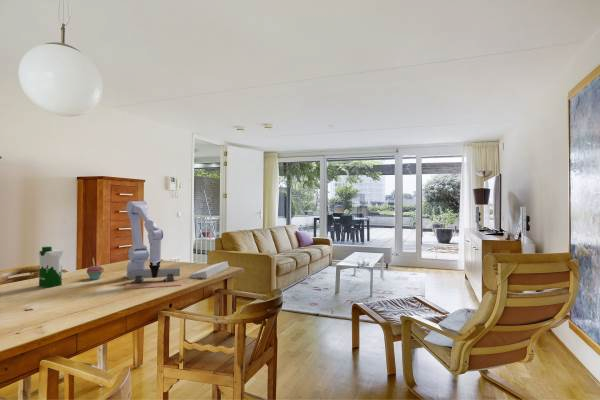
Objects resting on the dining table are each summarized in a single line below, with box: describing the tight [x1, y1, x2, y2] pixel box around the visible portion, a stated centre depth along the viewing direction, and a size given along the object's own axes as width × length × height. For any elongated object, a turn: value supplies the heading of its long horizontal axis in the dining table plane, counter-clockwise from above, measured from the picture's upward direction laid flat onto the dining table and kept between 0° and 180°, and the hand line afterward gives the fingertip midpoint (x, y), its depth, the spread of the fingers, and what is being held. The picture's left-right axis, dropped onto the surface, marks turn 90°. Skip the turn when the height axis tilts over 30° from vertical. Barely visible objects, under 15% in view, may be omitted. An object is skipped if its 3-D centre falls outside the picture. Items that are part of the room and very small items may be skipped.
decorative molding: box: [190, 260, 230, 279], centre depth 220 cm, size 34×5×10 cm
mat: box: [124, 280, 182, 290], centre depth 184 cm, size 27×9×1 cm, turn 111°
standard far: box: [165, 275, 175, 282], centre depth 197 cm, size 4×11×5 cm, turn 21°
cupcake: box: [86, 257, 105, 280], centre depth 197 cm, size 9×8×12 cm
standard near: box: [133, 277, 145, 284], centre depth 191 cm, size 4×11×5 cm, turn 21°
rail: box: [127, 267, 181, 280], centre depth 193 cm, size 26×4×4 cm, turn 111°
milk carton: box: [38, 246, 64, 289], centre depth 179 cm, size 9×9×20 cm
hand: (154, 276), depth 193 cm, fingers open, 7 cm apart
